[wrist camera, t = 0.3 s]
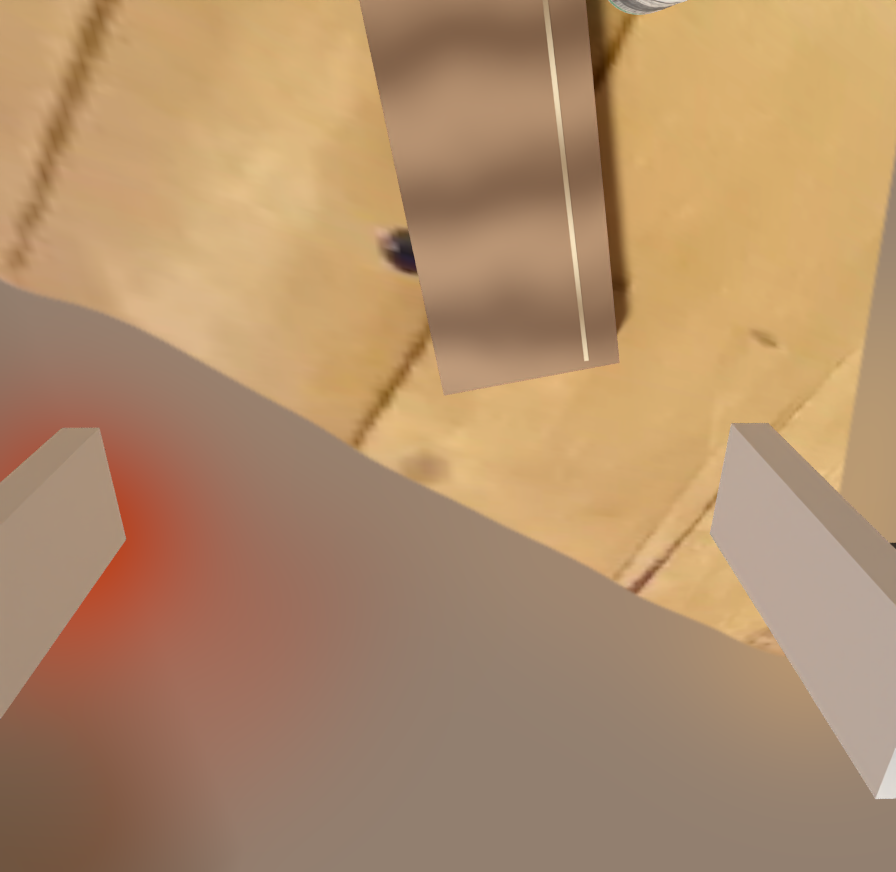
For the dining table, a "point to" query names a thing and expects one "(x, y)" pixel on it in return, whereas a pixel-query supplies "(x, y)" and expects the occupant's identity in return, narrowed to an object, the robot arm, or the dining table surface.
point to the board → (499, 182)
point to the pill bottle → (643, 5)
